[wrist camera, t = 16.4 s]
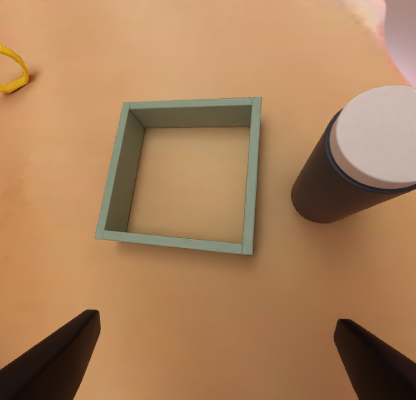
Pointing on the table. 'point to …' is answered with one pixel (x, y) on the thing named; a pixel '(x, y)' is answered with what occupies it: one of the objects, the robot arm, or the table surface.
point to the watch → (18, 82)
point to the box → (130, 153)
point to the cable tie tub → (361, 156)
